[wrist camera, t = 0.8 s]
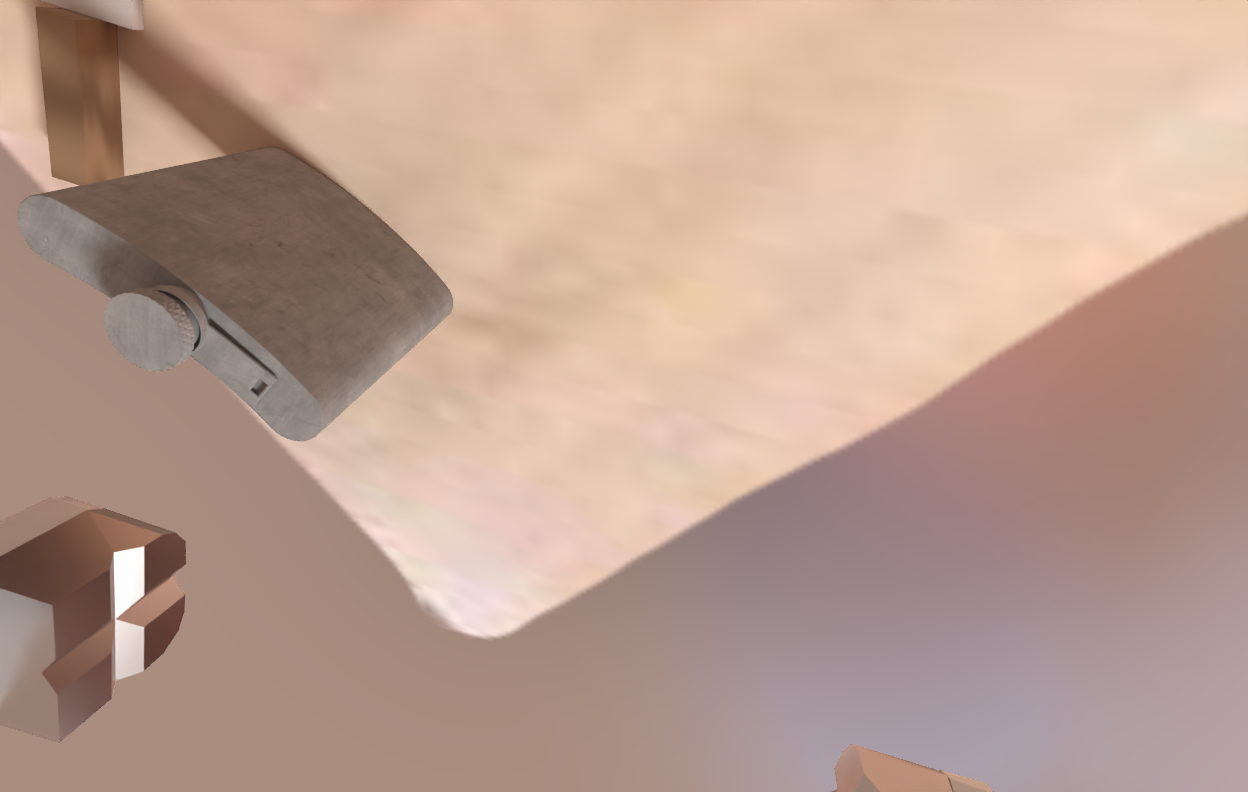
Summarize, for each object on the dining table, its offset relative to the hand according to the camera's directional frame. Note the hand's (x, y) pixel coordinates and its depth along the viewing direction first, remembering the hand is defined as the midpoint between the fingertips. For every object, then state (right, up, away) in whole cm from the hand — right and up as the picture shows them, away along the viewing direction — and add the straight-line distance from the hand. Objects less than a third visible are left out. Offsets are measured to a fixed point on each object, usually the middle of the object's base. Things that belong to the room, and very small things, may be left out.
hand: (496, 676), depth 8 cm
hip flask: (-16, +15, +40) cm, 46 cm away
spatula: (-32, +26, +37) cm, 55 cm away
